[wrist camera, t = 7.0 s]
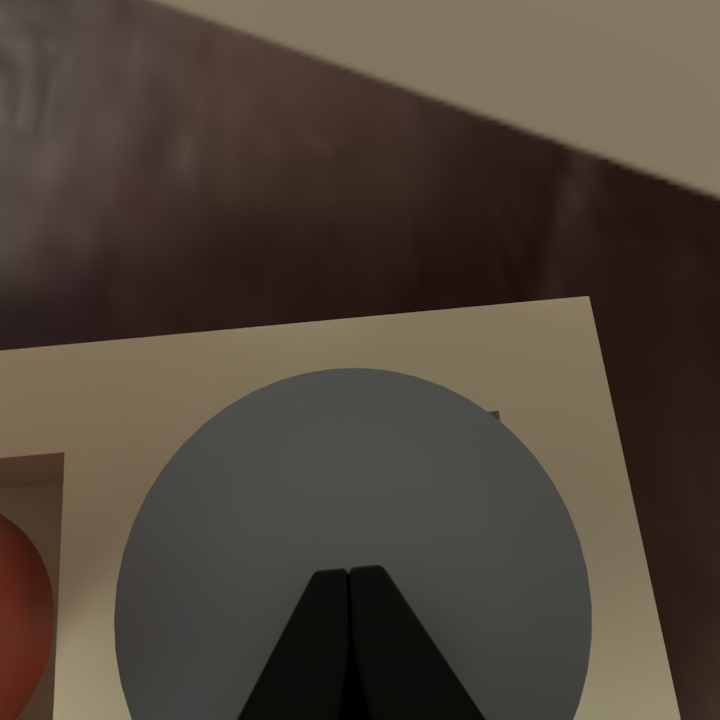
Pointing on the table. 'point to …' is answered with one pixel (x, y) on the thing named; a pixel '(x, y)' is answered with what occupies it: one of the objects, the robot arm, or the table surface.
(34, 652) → the red button
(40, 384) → the button console
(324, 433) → the slate blue button
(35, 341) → the table surface
